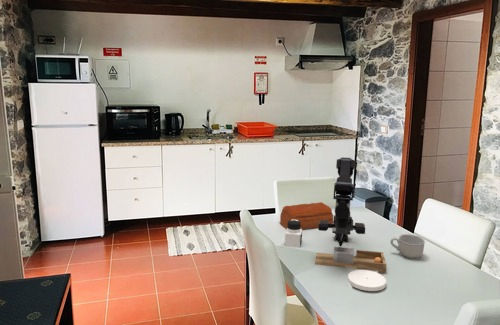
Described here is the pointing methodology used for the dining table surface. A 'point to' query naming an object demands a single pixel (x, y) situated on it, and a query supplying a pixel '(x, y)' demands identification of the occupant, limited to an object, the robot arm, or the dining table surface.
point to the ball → (377, 260)
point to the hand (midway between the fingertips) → (340, 246)
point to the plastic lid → (367, 280)
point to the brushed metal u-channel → (343, 255)
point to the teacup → (409, 245)
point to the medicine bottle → (293, 234)
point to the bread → (306, 214)
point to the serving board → (355, 261)
